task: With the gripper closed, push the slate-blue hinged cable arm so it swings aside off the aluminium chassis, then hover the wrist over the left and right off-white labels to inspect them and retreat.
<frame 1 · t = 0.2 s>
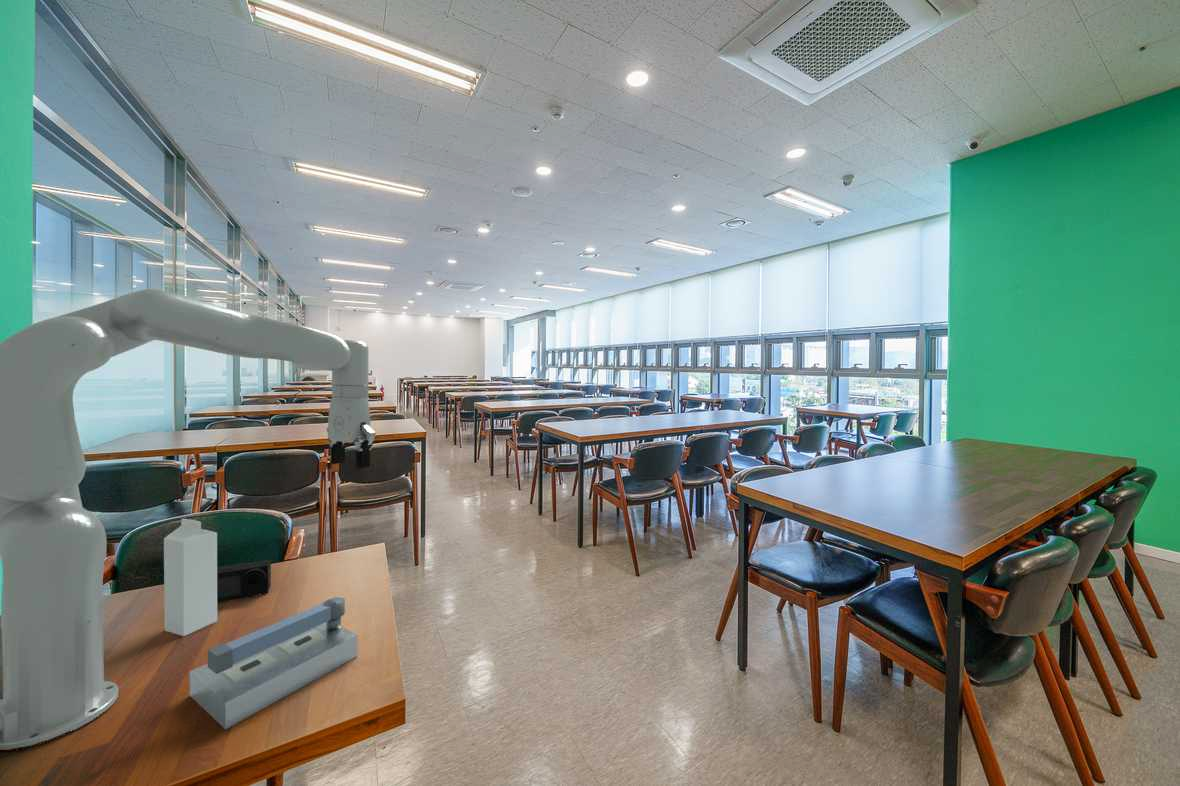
hand: (350, 465, 103), 31 cm above the table, tool pointing down, fingers open, 9 cm apart
milk: (191, 626, 90), on the table
cable arm: (285, 629, 76), point 8 cm above the table, hinge at 0.0°
digital camera: (241, 597, 102), on the table
chassis: (279, 674, 76), on the table
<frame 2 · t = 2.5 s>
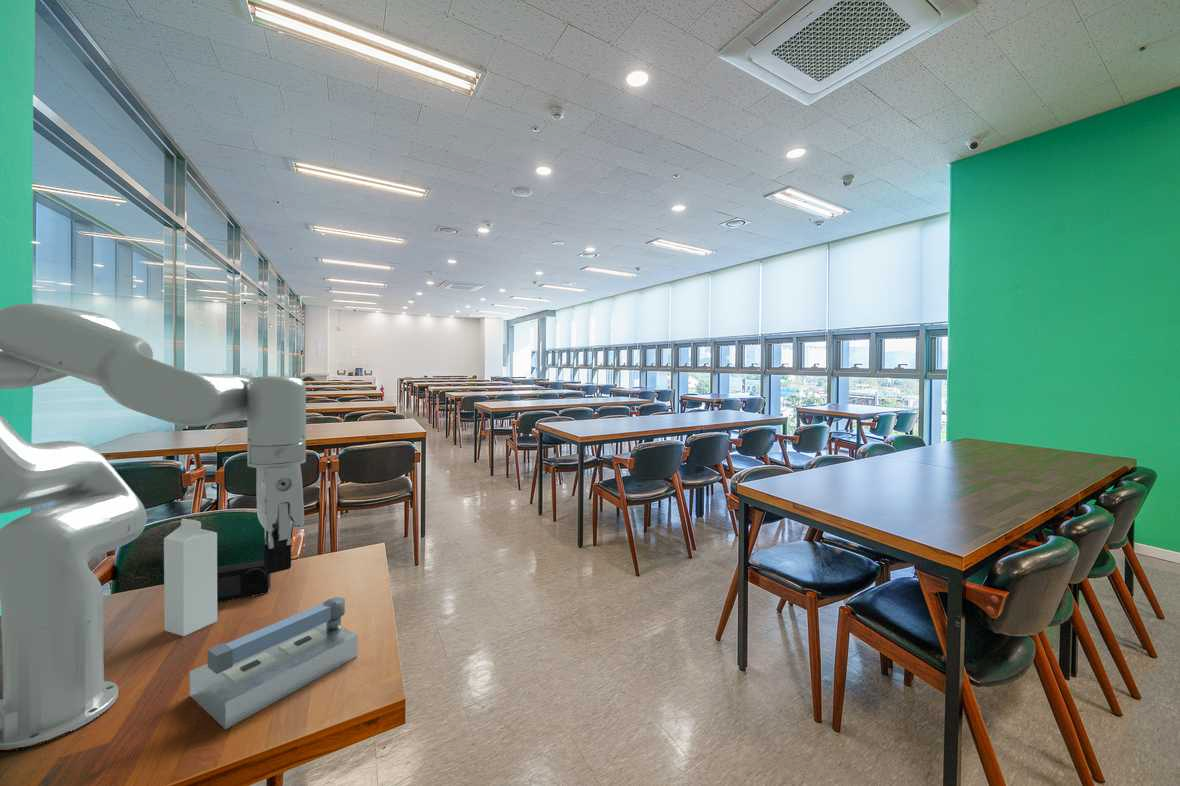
hand: (277, 568, 69), 21 cm above the table, tool pointing down, fingers closed
nothing on the table moved.
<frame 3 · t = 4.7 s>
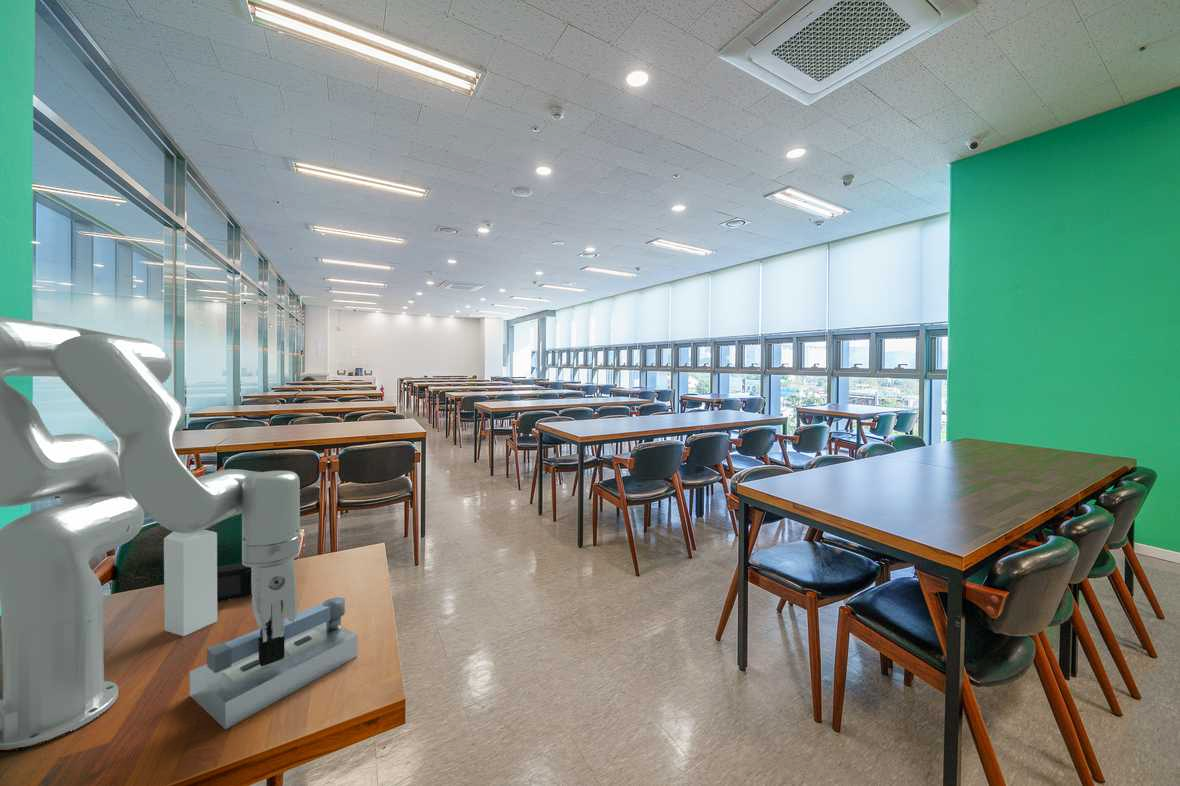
hand: (271, 660, 71), 6 cm above the table, tool pointing down, fingers closed
cable arm: (284, 629, 76), point 8 cm above the table, hinge at 1.2°, touching gripper
everything else where it was.
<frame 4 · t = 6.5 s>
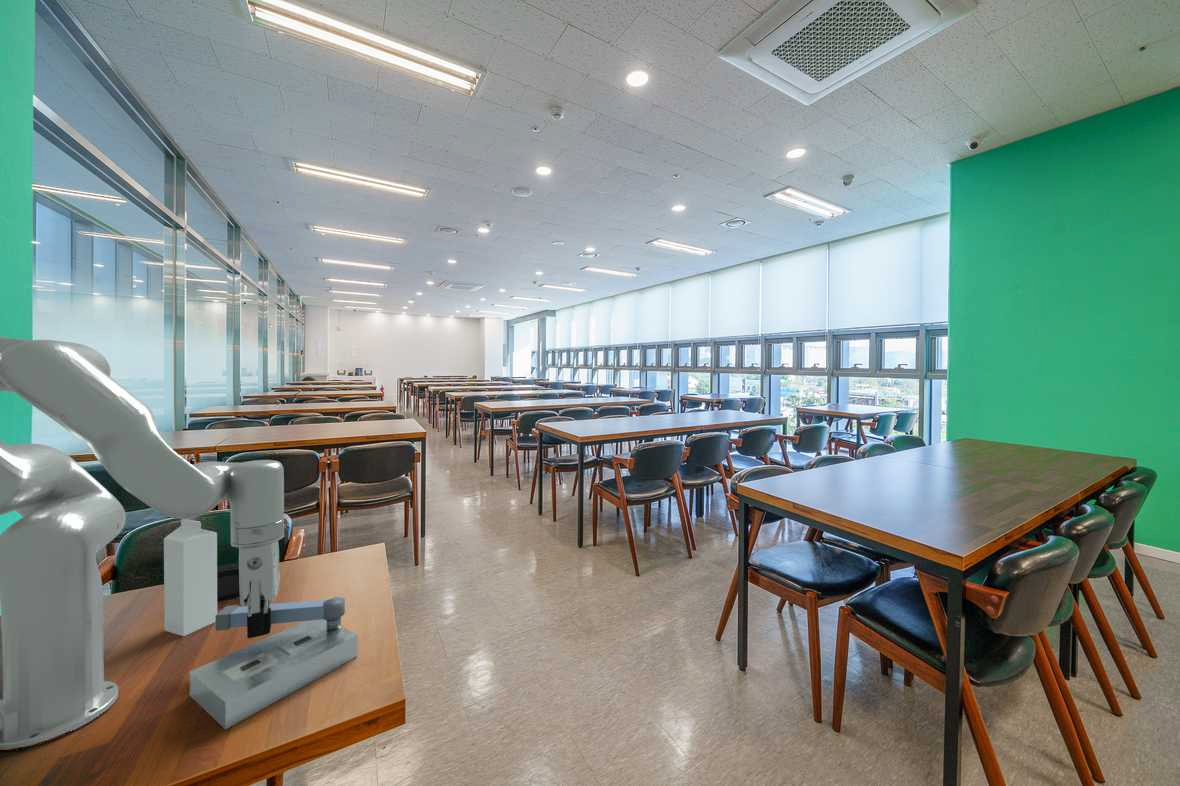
hand: (259, 633, 77), 6 cm above the table, tool pointing down, fingers closed
cable arm: (284, 612, 81), point 8 cm above the table, hinge at 47.3°, touching gripper
everything else where it was.
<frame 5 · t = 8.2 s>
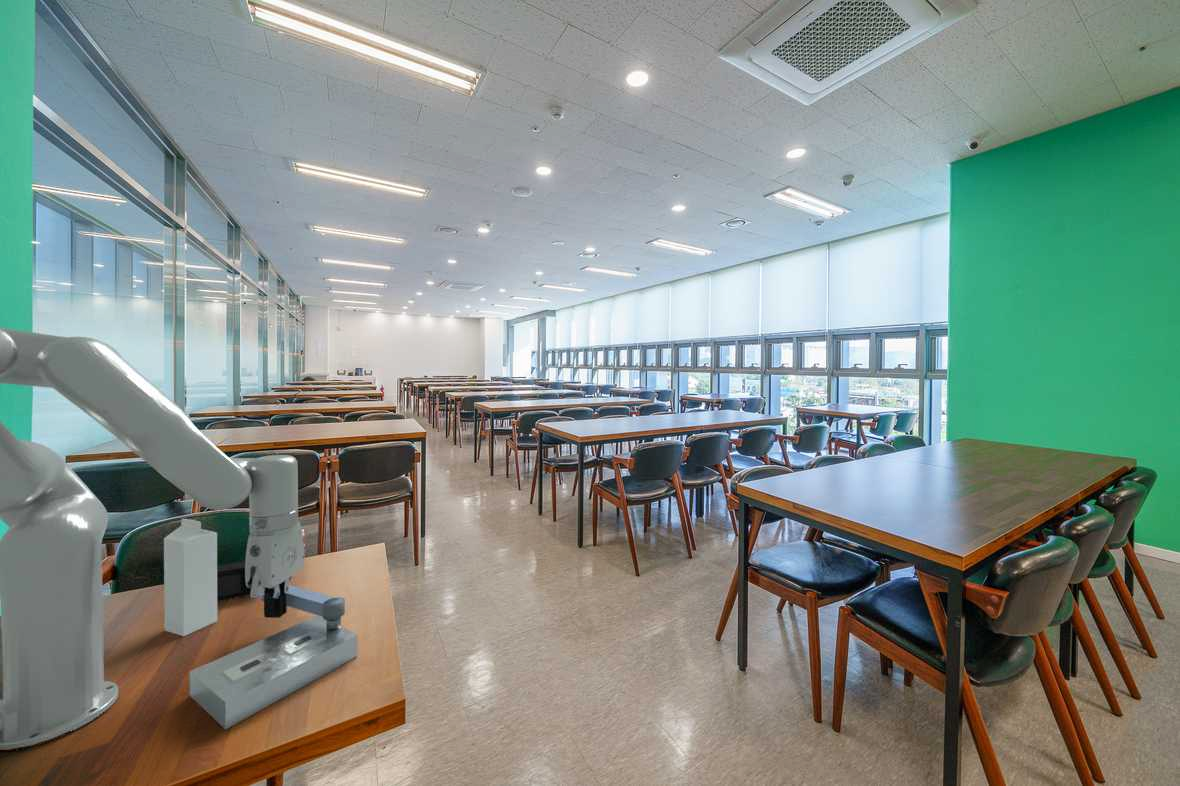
hand: (275, 615, 84), 6 cm above the table, tool pointing down, fingers closed
cable arm: (303, 599, 86), point 8 cm above the table, hinge at 81.1°, touching gripper
everything else where it was.
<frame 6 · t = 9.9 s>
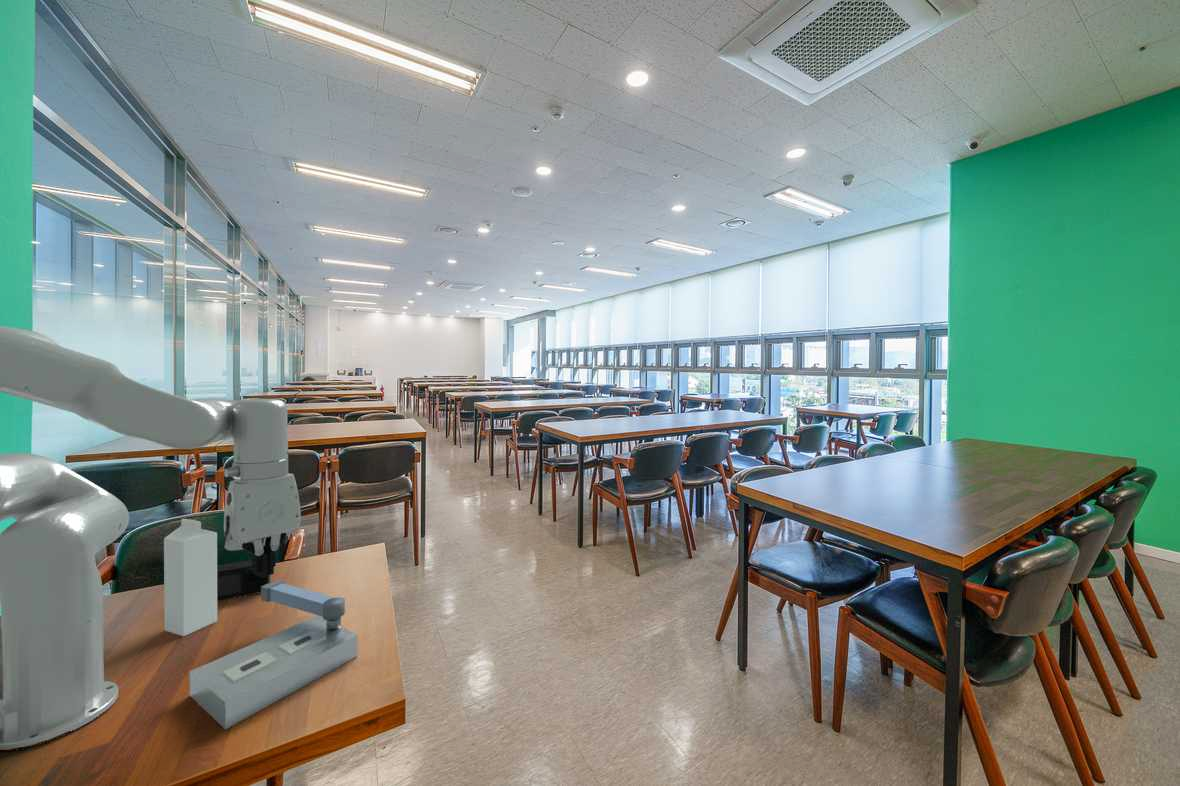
hand: (263, 574, 76), 17 cm above the table, tool pointing down, fingers closed
cable arm: (303, 599, 86), point 8 cm above the table, hinge at 81.1°
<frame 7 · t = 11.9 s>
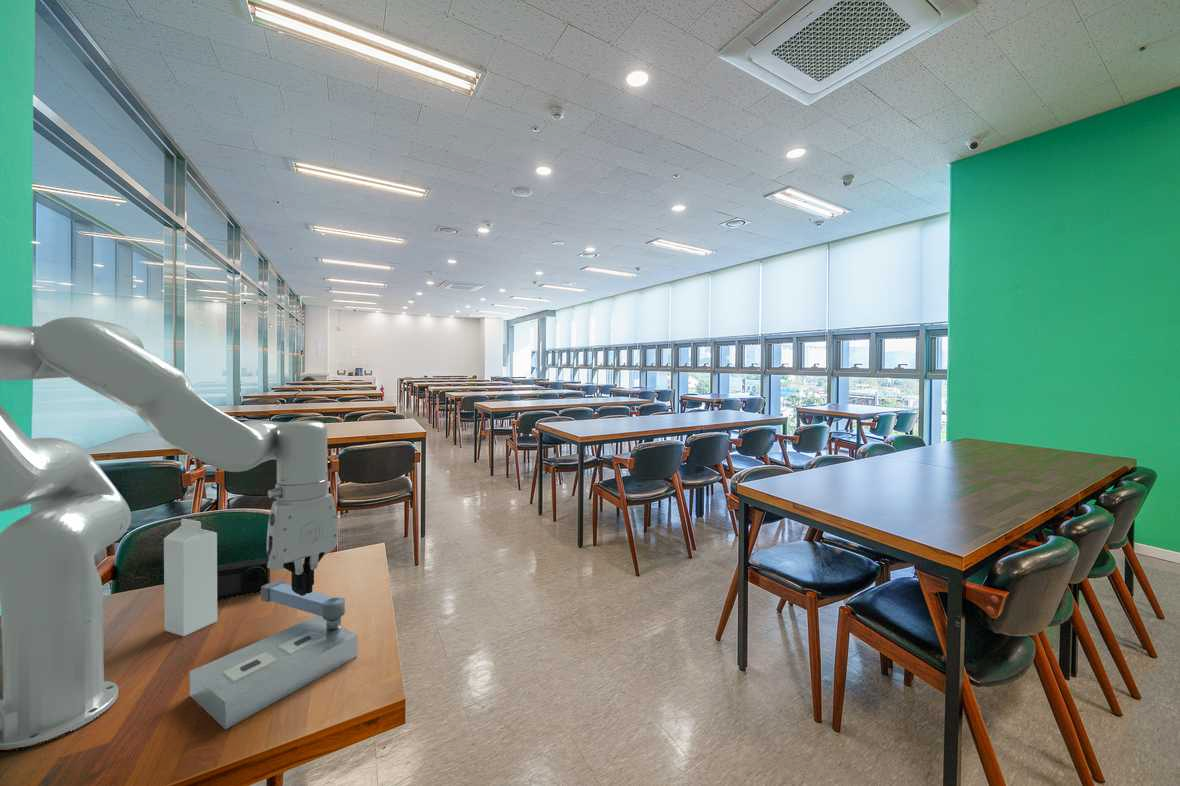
hand: (302, 592, 78), 13 cm above the table, tool pointing down, fingers closed
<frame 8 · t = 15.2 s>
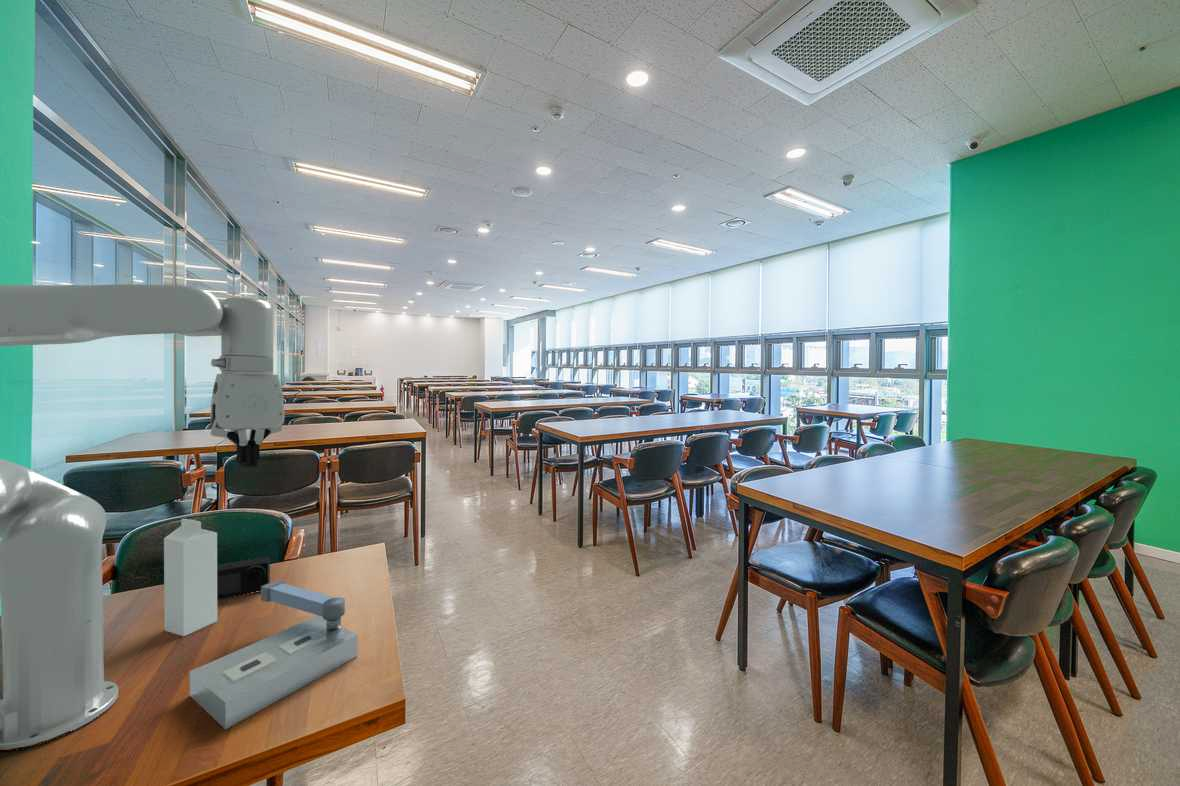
hand: (248, 465, 80), 35 cm above the table, tool pointing down, fingers closed
at the end: cable arm at +81° (first picture: +0°) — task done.
